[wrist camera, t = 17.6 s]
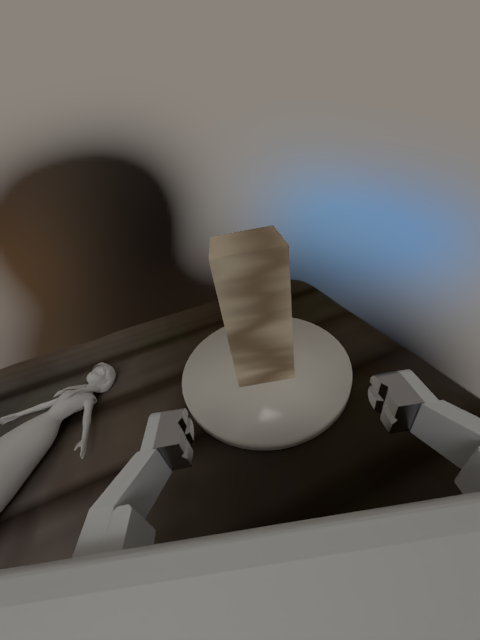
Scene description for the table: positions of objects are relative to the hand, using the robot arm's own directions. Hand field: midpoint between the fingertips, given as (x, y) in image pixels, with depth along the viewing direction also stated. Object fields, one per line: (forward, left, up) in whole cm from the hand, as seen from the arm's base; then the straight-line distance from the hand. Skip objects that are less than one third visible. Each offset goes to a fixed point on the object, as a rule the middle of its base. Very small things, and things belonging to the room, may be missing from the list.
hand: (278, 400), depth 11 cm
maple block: (0, +10, -8) cm, 13 cm away
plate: (0, +10, -9) cm, 14 cm away
